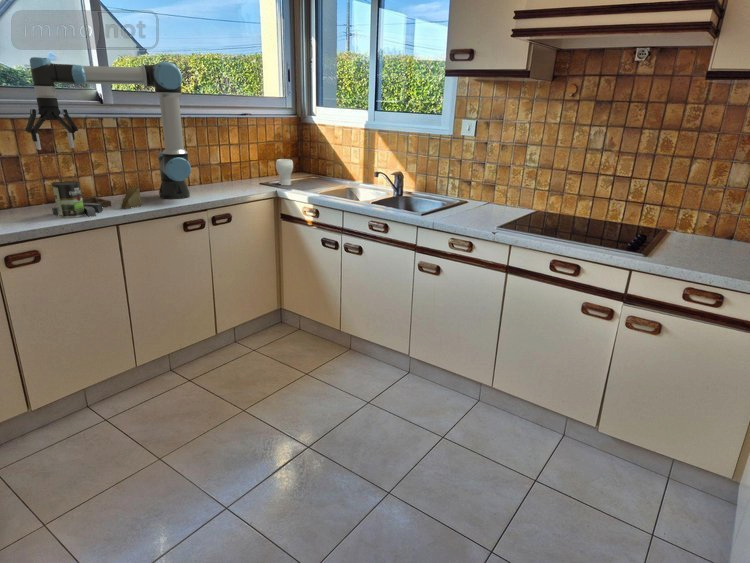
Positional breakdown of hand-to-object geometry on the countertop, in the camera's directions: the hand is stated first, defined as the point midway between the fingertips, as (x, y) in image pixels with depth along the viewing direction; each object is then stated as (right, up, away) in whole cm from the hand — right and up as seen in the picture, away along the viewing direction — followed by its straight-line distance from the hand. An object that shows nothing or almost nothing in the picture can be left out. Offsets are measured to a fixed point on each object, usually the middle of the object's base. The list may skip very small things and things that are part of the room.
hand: (55, 148), depth 219 cm
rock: (+25, -24, +17) cm, 38 cm away
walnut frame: (+6, -23, +15) cm, 28 cm away
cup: (+84, +2, +93) cm, 125 cm away
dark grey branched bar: (+9, -28, +1) cm, 30 cm away
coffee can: (+9, -30, -3) cm, 32 cm away
